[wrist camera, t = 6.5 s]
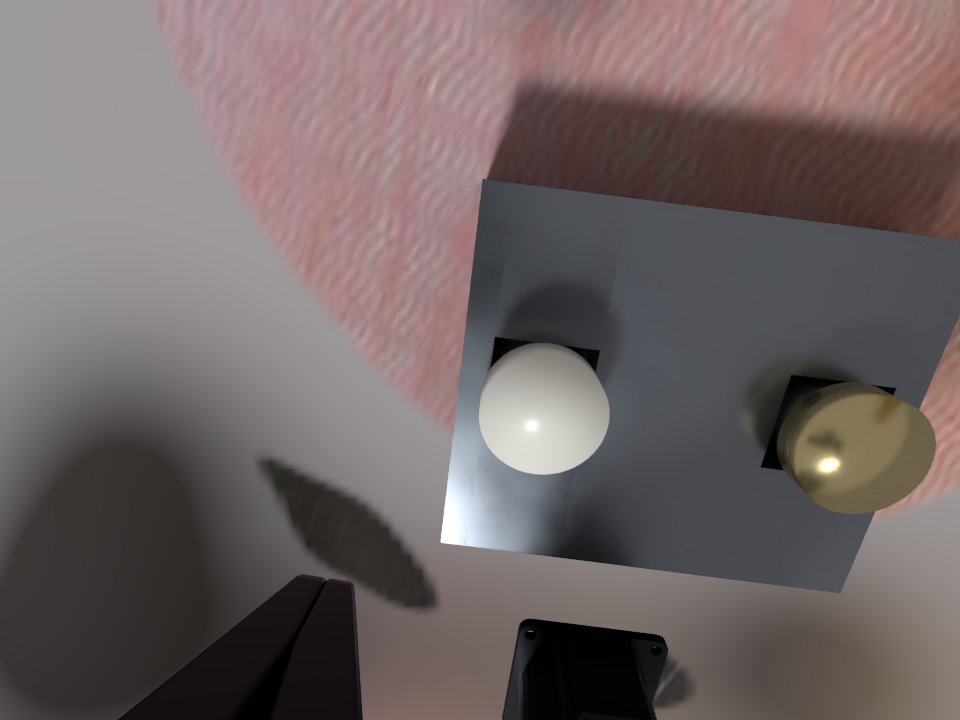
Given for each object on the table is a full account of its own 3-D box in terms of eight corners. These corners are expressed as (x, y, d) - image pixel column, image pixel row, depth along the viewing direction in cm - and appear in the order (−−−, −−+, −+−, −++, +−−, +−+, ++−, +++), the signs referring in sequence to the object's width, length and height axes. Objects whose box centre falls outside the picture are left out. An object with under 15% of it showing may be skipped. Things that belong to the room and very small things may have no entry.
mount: (790, 534, 21) (840, 593, 18) (449, 491, 21) (440, 542, 18) (903, 234, 17) (990, 243, 14) (486, 180, 17) (482, 179, 14)
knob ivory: (573, 412, 19) (596, 482, 15) (478, 400, 19) (471, 466, 15) (591, 320, 18) (621, 364, 14) (490, 307, 18) (487, 347, 14)
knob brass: (809, 441, 19) (905, 521, 15) (714, 430, 19) (781, 505, 15) (841, 352, 18) (957, 407, 14) (741, 339, 18) (823, 390, 14)
